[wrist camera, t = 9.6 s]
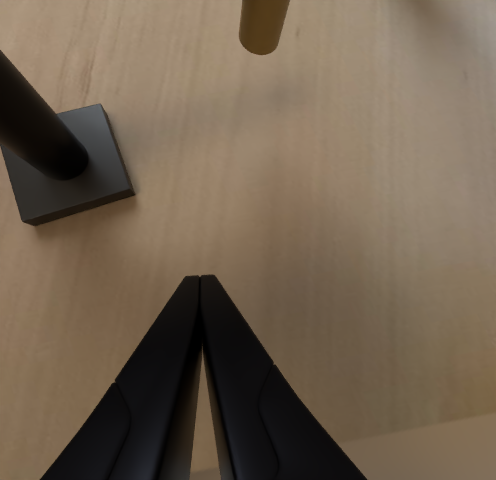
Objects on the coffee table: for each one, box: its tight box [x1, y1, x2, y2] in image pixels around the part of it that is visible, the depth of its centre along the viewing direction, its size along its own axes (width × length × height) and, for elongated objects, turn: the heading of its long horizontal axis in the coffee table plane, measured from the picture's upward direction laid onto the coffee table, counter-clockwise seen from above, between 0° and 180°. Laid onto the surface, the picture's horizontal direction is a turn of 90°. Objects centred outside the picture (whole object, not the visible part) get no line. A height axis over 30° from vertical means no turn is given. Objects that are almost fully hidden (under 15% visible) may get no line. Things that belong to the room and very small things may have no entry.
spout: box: [239, 0, 290, 55], centre depth 11 cm, size 17×4×7 cm, turn 115°
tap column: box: [0, 50, 135, 226], centre depth 14 cm, size 7×7×11 cm
